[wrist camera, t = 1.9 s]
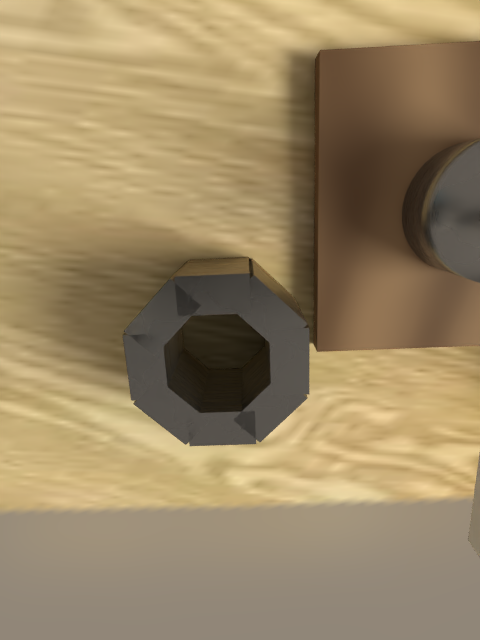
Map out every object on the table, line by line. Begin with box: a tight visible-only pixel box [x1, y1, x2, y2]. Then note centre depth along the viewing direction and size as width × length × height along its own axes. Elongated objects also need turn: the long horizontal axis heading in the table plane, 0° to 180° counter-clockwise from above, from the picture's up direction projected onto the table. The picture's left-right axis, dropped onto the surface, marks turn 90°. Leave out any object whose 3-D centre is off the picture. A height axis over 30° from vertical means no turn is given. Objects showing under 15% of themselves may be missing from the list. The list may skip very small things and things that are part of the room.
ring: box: [123, 257, 309, 446], centre depth 20 cm, size 8×8×5 cm
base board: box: [314, 41, 480, 352], centre depth 20 cm, size 14×14×1 cm
